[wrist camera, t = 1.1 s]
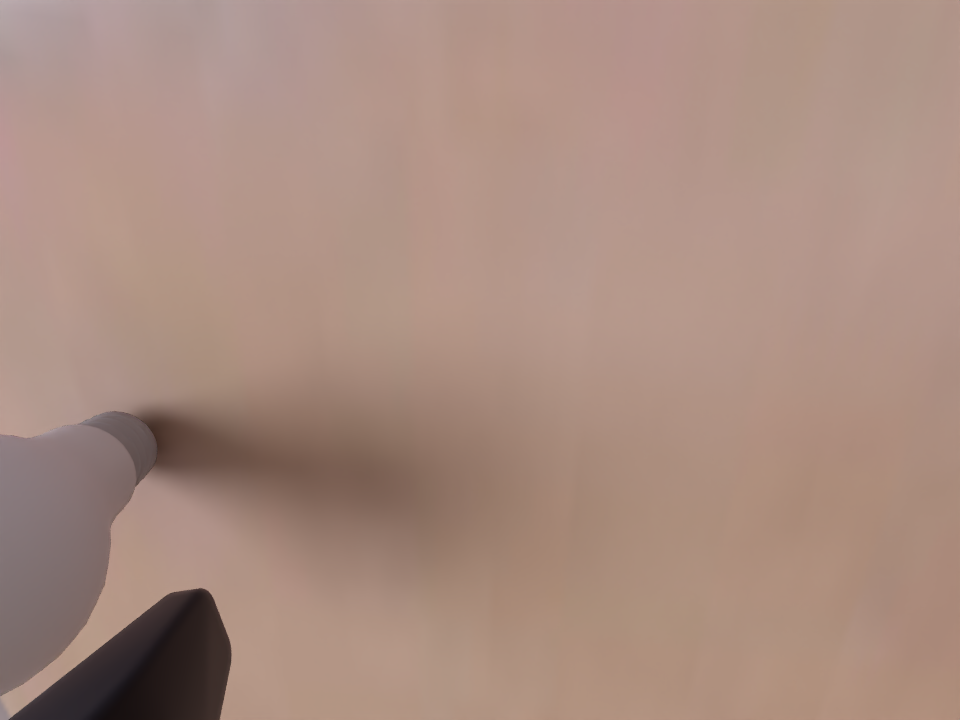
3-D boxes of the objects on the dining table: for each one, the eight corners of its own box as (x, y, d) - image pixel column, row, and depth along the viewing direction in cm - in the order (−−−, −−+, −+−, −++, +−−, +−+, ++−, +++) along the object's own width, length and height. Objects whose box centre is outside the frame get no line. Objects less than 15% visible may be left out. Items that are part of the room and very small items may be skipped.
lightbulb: (242, 501, 23) (47, 768, 12) (76, 532, 23) (-257, 821, 13) (190, 336, 21) (-84, 478, 11) (14, 370, 22) (-427, 543, 11)
